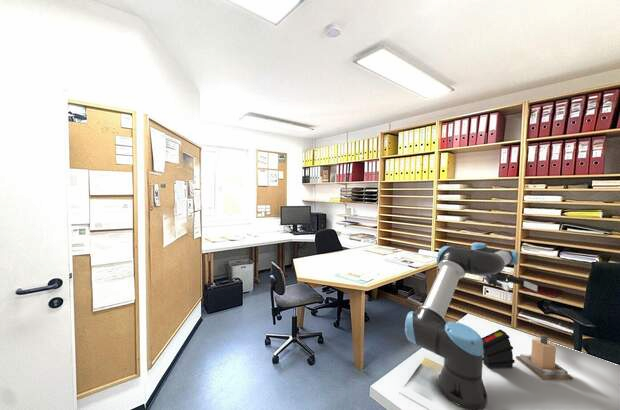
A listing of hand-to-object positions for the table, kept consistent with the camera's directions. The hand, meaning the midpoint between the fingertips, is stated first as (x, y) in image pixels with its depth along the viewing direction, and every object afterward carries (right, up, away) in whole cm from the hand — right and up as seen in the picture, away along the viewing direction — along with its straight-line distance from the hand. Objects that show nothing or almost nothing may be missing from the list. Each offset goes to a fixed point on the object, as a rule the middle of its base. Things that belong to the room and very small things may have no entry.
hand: (522, 288), depth 114 cm
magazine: (-23, -29, -13) cm, 39 cm away
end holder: (-5, -29, -15) cm, 32 cm away
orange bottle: (-4, -28, -15) cm, 31 cm away
